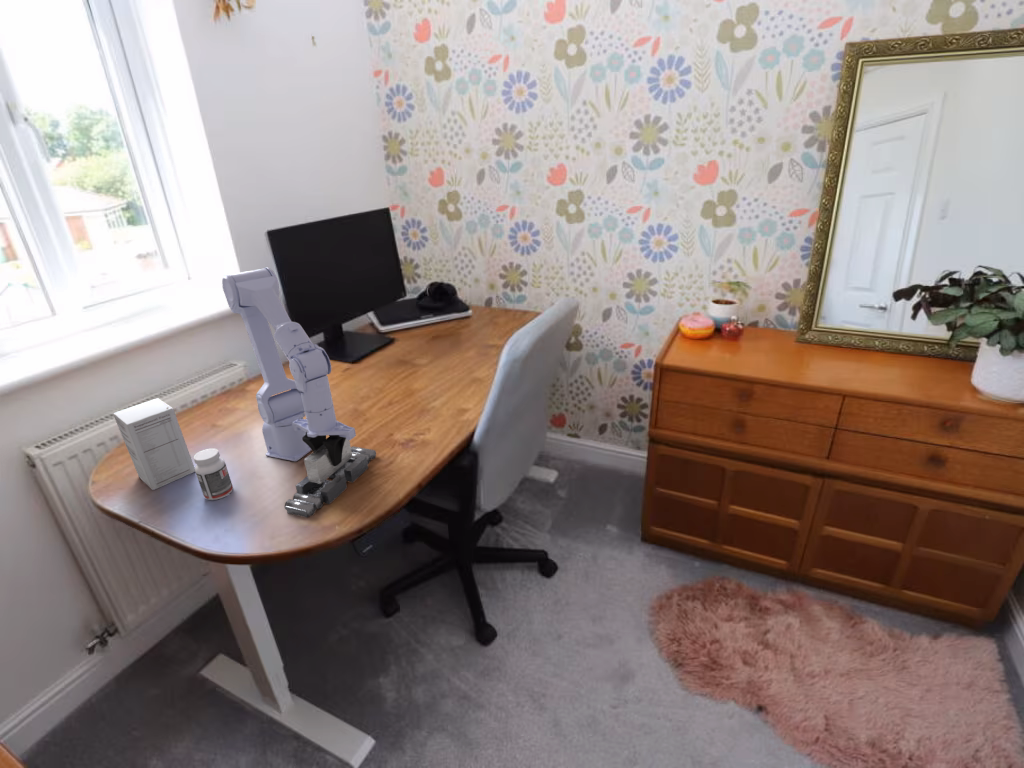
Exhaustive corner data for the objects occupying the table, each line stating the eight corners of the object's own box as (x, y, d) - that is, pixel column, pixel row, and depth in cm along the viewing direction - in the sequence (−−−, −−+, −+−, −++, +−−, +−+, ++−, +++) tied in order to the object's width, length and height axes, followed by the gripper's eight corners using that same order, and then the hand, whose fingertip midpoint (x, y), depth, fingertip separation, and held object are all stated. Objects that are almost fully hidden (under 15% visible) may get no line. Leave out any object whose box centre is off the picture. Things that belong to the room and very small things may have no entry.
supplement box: (181, 458, 128) (159, 396, 121) (197, 471, 122) (175, 406, 115) (136, 477, 121) (111, 412, 114) (151, 491, 116) (125, 424, 109)
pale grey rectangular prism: (309, 481, 110) (303, 459, 108) (341, 454, 120) (337, 433, 118) (320, 484, 109) (315, 461, 107) (352, 456, 119) (348, 435, 117)
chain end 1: (281, 511, 107) (278, 499, 106) (317, 481, 117) (314, 470, 115) (313, 519, 105) (310, 506, 104) (347, 487, 114) (344, 476, 113)
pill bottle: (238, 484, 117) (226, 446, 113) (226, 500, 112) (213, 460, 108) (212, 486, 117) (199, 447, 113) (199, 501, 112) (185, 462, 107)
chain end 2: (322, 476, 118) (320, 465, 117) (352, 451, 128) (350, 440, 127) (352, 482, 116) (350, 471, 115) (380, 456, 125) (378, 445, 124)
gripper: (276, 410, 108) (291, 466, 113) (335, 419, 103) (347, 478, 108) (300, 396, 114) (312, 450, 119) (357, 404, 109) (367, 460, 114)
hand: (330, 462), depth 114 cm, fingers closed on pale grey rectangular prism, 3 cm apart
